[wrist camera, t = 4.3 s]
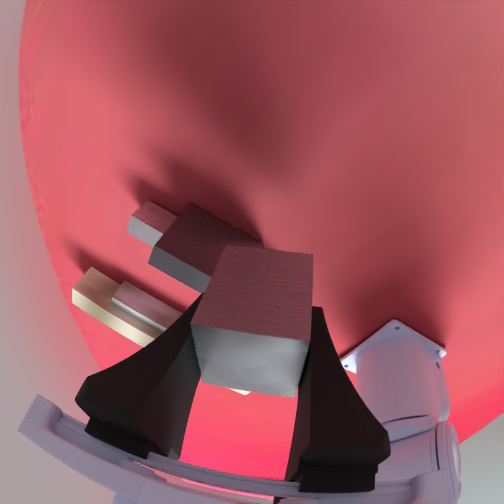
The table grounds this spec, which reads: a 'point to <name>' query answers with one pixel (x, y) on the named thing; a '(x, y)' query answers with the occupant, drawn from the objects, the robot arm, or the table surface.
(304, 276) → the steel block
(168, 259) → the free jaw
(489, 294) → the table surface
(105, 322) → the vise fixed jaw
